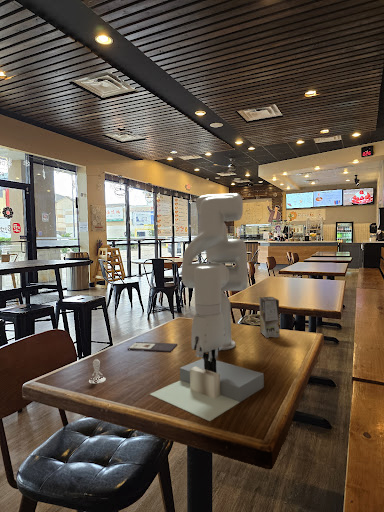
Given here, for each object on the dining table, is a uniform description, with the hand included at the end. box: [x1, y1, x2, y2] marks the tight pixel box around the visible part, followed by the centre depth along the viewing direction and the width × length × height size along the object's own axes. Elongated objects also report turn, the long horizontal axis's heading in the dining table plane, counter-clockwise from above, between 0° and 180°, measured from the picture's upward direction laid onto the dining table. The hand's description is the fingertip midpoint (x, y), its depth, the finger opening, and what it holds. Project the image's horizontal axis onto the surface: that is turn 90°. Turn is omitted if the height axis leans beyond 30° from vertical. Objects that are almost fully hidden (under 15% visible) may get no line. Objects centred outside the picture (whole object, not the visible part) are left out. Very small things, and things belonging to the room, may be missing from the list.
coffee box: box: [258, 296, 281, 339], centre depth 150 cm, size 9×6×16 cm
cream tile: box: [190, 366, 221, 399], centre depth 96 cm, size 9×6×2 cm
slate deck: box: [179, 358, 265, 404], centre depth 102 cm, size 22×12×4 cm, turn 47°
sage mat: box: [149, 379, 239, 422], centre depth 93 cm, size 22×12×1 cm, turn 47°
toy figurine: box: [88, 356, 107, 385], centre depth 106 cm, size 5×8×7 cm, turn 175°
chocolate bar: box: [127, 341, 178, 353], centre depth 139 cm, size 9×1×18 cm
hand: (210, 372), depth 98 cm, fingers closed
